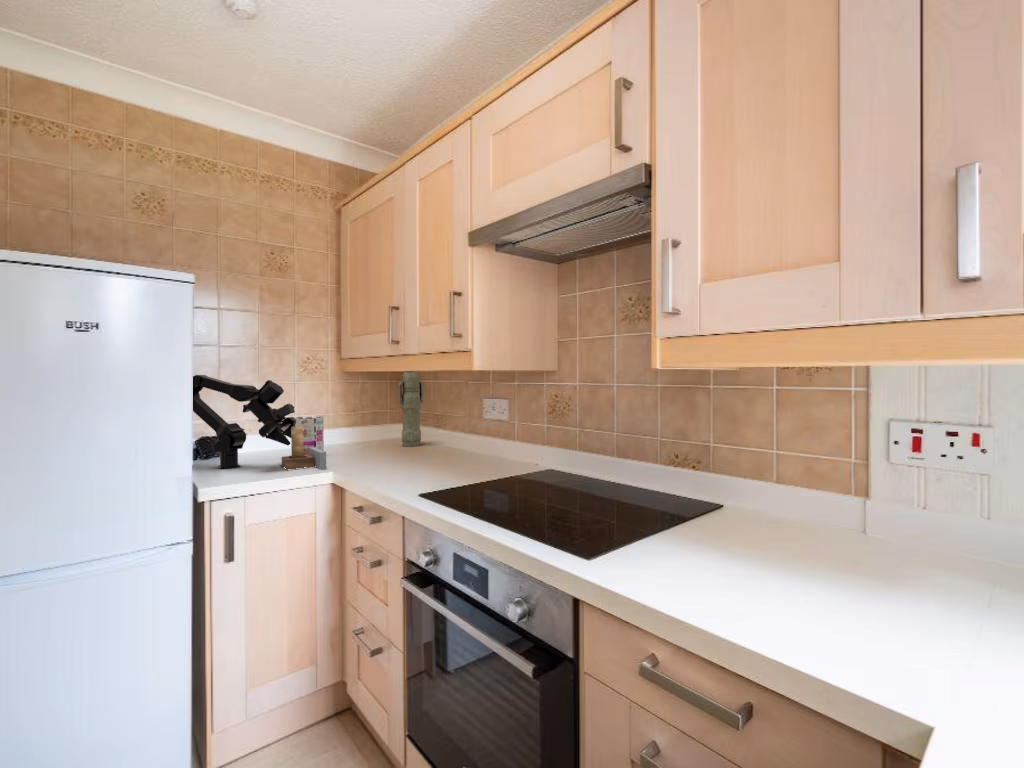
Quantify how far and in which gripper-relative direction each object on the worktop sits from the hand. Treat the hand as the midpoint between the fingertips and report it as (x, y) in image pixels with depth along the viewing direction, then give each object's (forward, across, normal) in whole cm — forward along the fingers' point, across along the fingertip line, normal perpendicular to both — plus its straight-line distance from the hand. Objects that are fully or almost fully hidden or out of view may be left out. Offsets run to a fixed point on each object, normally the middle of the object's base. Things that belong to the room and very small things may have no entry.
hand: (294, 442), depth 177 cm
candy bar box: (+3, +25, +10) cm, 27 cm away
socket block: (+7, 0, +6) cm, 9 cm away
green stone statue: (+29, +52, -17) cm, 62 cm away
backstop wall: (+12, +1, +1) cm, 12 cm away
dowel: (+6, 0, +5) cm, 8 cm away
